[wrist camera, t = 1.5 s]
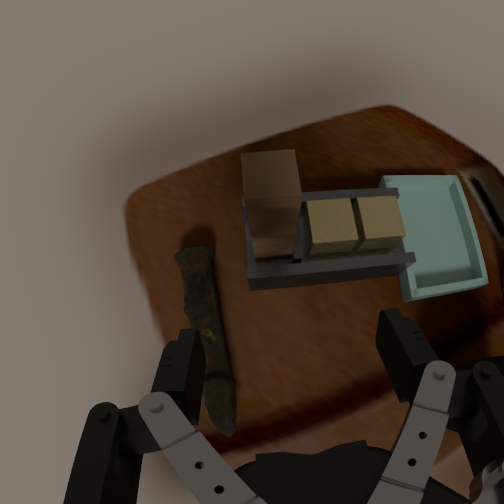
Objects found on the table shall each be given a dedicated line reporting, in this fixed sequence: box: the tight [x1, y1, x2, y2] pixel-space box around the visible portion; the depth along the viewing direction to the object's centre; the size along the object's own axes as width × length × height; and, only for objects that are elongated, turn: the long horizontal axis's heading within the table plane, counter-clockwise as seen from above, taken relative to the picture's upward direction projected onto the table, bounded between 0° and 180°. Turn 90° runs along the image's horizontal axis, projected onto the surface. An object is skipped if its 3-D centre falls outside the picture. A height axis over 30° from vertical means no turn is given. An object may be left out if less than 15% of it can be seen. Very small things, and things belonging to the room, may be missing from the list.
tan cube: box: [352, 196, 406, 254], centre depth 28 cm, size 4×4×4 cm
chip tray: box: [377, 175, 489, 302], centre depth 31 cm, size 11×14×2 cm
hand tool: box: [173, 245, 237, 437], centre depth 29 cm, size 19×4×5 cm, turn 10°
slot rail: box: [242, 187, 416, 291], centre depth 31 cm, size 16×8×5 cm, turn 94°
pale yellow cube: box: [303, 198, 358, 258], centre depth 28 cm, size 4×4×4 cm
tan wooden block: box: [241, 149, 303, 264], centre depth 25 cm, size 4×5×12 cm
